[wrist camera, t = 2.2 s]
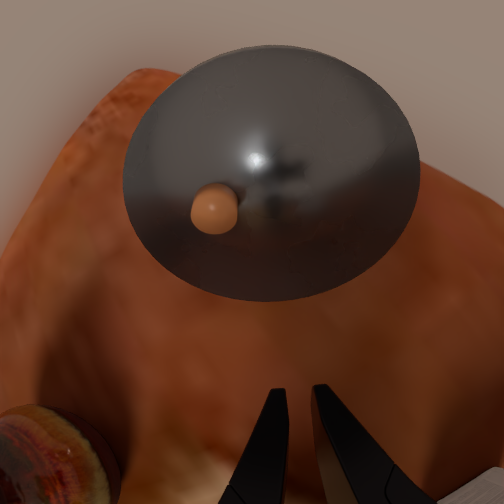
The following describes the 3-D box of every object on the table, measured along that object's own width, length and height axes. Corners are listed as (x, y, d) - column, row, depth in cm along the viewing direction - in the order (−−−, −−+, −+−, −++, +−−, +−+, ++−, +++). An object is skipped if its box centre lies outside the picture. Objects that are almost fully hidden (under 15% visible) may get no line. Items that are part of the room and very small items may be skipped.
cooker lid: (380, 276, 18) (390, 304, 16) (170, 290, 18) (164, 321, 17) (427, 58, 9) (457, 70, 7) (98, 74, 9) (72, 88, 8)
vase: (33, 390, 21) (-102, 376, 6) (133, 415, 20) (-21, 448, 6) (43, 490, 17) (-69, 521, 2) (141, 526, 16) (43, 615, 2)
